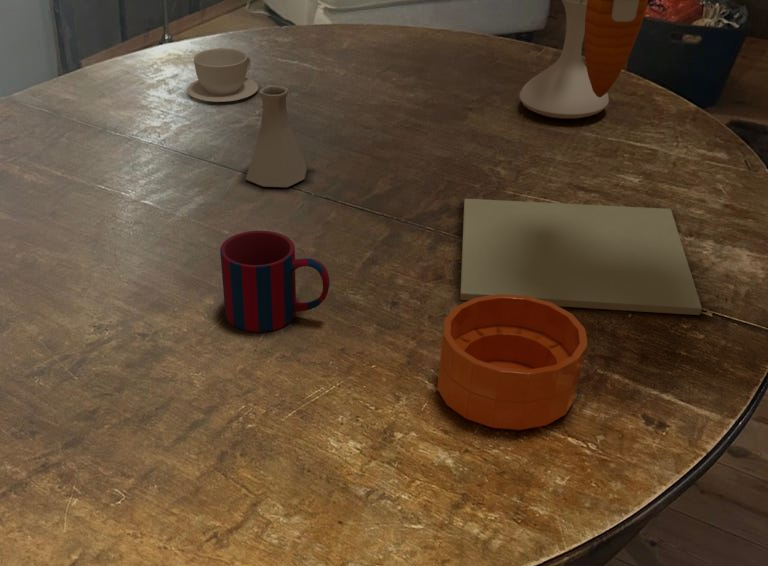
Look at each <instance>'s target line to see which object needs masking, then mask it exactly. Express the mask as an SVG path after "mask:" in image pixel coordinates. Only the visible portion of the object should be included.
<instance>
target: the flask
mask: <svg viewBox="0 0 768 566" xmlns="http://www.w3.org/2000/svg"><path fill="white" fill-rule="evenodd" d="M288 94H289V88H288V87H286V86H283V85H276V84H275V85H273V84H272V85H271V84H268V85H266V86H264V87H261V88H260V90H259V98H260V99H261V100H262V101H261V102H262V111H261V113H262V114H261V121H260V128H259V131H258V136H257V139H256V143H255V146H254V150H253V154H252V156H251V160H250V163H249V167H248V169H247V173H246V177H245V180H246V181H248V182H251V183H253V184H256V185H258V186H261V187H265V188H268V187H269V188H290V187H291V186H294V185H295V184H298V183H299V182H301V181H304V180H305V178H306V174H307V170H308V167H307V165H306V162H305V160H304V157H303V155H302V152H301V150H300V147H299V145H298V142H297V140H296V137H295V134H294V132H293V129H292V127H291V123H290V119H289V114H288V109H287V97H288Z"/></svg>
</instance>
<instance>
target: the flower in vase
mask: <svg viewBox="0 0 768 566" xmlns="http://www.w3.org/2000/svg"><path fill="white" fill-rule="evenodd" d="M561 2H562V4H563V6H564V10H565V20H566V21H565V22H566V25H565V36H564V43H563V47H562V51H561V54H560V56H559V58H558V59H557V60H556V61H555V62H554V63H553V64H552V65H550V66H548V67H547V68H546V69H544V70H542V71H541V72H539V73H538V74H536V75H535V76H534V77H532V78H531V79H530V80H529V81H527V83H525V84H524V85H523V87H522V89H521V90H520V92H519V95H518V96H519V99H520V101H521V103H522V105H523V107H525V108H526V109H528V110H529V111H531V112H534V113H536V114H538V115H540V116H545V117H548V118H554V119H562V120H565V119H566V120H572V119H573V120H574V119H581V118H587V117H590V116H593V115H596V114H599V113H601V112H602V111H603V110H604V109H605V108H606V107H607V105H608V104H609V103H610V102H609V101H610V99H609V98H610V97H609V93H608V92H607V93H606V94H605V95H603V96H602V97H597V96H596V94H595V93H594V92H593V89H592V86H591V83H590V80H589V77H588V72H587V66H586V64H585V63H584V61H583V57H582V50H583V42H584V39H585V16H586V7H587V0H561Z"/></svg>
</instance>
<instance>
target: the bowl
mask: <svg viewBox="0 0 768 566" xmlns="http://www.w3.org/2000/svg"><path fill="white" fill-rule="evenodd" d="M587 337H588V336H587V331H586V328H585V327H584V325H583V324H582V323H581V322H580V321H579V320H578V319H577V318H576V316H575V315H574V314H573V313H571V312H569V311H568V310H566V309H564V308H563V307H561V306H557V305H555V304H553V303H551V302H547V301H544V300H540V299H536V298H533V297H529V296H522V295H507V294H497V295H491V296H484V297H478V298H474V299H471V300H466V301H465V302H463V303H461V304H459V305H456V306H455V307H454V308H453V309H452V310H451V311H450V312H449V313H448V315H447V316H446V317H445V318H444V320H443V327H442V338H441V344H440V345H441V346H440V353H439V354H440V355H439V364H438V373H437V387H436V388H437V391H438V393H439V394H440V396H441V398H442V400H443V401H444V402H445V403H444V404H445V405H446V406H447V407H448V408H450V409H452V410H453V411H454V412H456V413H457V414H459V415H460V416H462V417H463V418H464V419H466V420H468V421H472V422H475V423H479V424H480V425H484V426H487V427H489V428H492V429H502V430H504V429H505V430H514V431H515V430H516V431H522V430H527V429H532V428H538V427H544V426H545V427H546V426H548V425H550V424H551V423H554V422H555V421H557V420H559V419H561V418H562V417H564V416H565V415H567V413H568V411H569V410H570V408H571V407H572V405H573V403H574V402H575V400H576V396H577V391H578V388H579V387H578V386H579V384H580V383H579V382H580V379H581V375H582V370H583V366H584V361H585V358H586V354H587V348H588V338H587Z"/></svg>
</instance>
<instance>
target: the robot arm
mask: <svg viewBox="0 0 768 566" xmlns="http://www.w3.org/2000/svg"><path fill="white" fill-rule="evenodd" d="M638 4H639V0H612V5H611V9H610V12H611V16H612V19H613V20H614V21H616V22H630V21H632V20H634V19H635V17H636V13H637V9H638Z"/></svg>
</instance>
